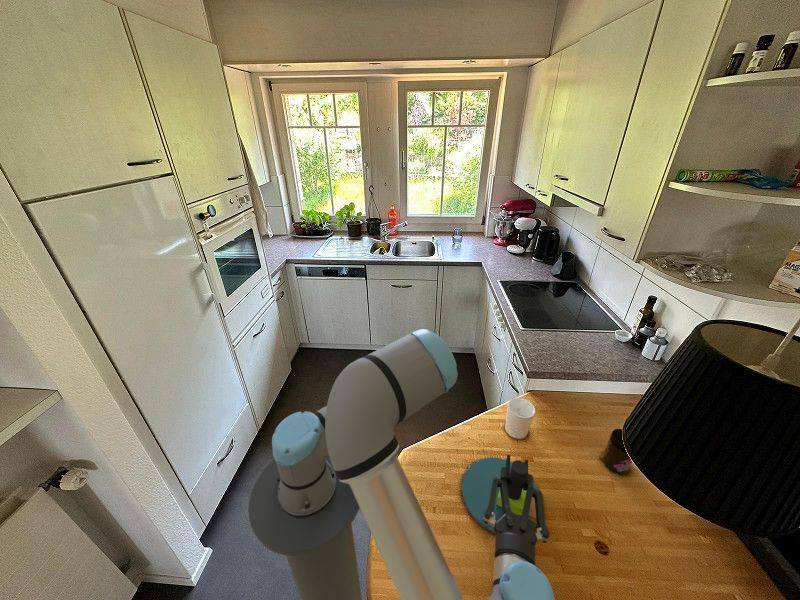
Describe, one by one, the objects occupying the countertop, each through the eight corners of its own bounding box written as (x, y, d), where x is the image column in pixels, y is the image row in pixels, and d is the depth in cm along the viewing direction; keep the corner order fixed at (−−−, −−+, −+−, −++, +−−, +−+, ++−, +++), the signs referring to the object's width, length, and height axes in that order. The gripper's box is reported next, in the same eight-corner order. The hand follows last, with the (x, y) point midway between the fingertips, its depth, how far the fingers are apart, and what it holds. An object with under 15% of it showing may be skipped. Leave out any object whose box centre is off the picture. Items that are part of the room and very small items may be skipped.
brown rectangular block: (520, 516, 79) (522, 511, 78) (524, 498, 82) (526, 493, 81) (538, 525, 77) (539, 520, 76) (541, 506, 81) (543, 501, 80)
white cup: (499, 432, 102) (503, 409, 97) (508, 416, 107) (513, 394, 103) (524, 445, 98) (530, 422, 93) (532, 428, 103) (538, 405, 98)
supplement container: (605, 472, 90) (617, 447, 85) (597, 451, 95) (608, 427, 91) (632, 476, 88) (646, 451, 84) (622, 455, 94) (634, 430, 89)
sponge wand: (496, 504, 81) (503, 471, 74) (502, 484, 85) (509, 451, 79) (520, 516, 78) (530, 484, 72) (525, 495, 83) (535, 462, 76)
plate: (450, 509, 81) (450, 507, 81) (475, 449, 96) (475, 446, 96) (533, 555, 72) (534, 553, 72) (546, 481, 88) (547, 478, 87)
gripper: (469, 557, 67) (482, 460, 87) (556, 590, 62) (548, 479, 82) (473, 538, 63) (485, 441, 83) (565, 571, 59) (555, 460, 78)
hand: (516, 460), depth 82 cm, fingers closed on sponge wand, 3 cm apart
